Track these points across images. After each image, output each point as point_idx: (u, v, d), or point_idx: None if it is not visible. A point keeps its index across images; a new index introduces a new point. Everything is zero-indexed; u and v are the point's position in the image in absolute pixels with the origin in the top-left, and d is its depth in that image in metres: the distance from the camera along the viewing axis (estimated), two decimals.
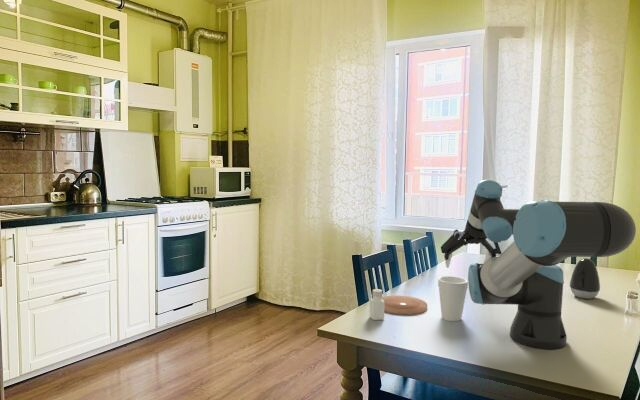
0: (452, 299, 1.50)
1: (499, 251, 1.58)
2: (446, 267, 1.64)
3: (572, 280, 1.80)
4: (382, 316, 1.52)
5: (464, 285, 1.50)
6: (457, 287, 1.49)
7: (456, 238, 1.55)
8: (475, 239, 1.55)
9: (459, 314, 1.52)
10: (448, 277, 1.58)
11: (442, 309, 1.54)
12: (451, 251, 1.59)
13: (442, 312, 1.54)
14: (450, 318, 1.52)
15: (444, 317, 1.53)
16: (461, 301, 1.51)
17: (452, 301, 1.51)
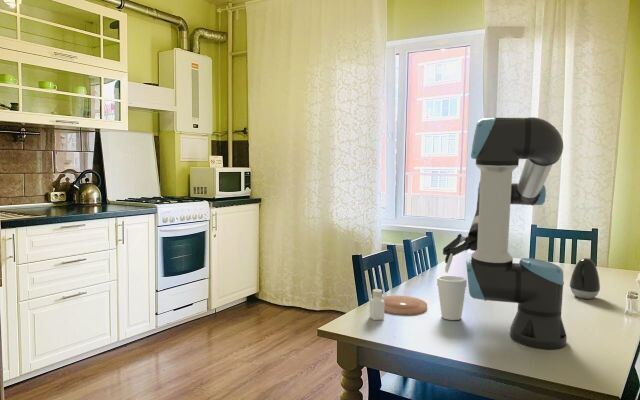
0: (451, 297, 1.51)
1: None
2: (445, 267, 1.58)
3: (572, 280, 1.80)
4: (382, 316, 1.52)
5: (463, 283, 1.51)
6: (456, 285, 1.50)
7: (458, 237, 1.67)
8: (476, 242, 1.64)
9: (459, 313, 1.52)
10: (447, 277, 1.59)
11: (442, 308, 1.54)
12: (452, 250, 1.63)
13: (442, 311, 1.54)
14: (450, 317, 1.52)
15: (444, 316, 1.53)
16: (460, 299, 1.52)
17: (451, 299, 1.51)
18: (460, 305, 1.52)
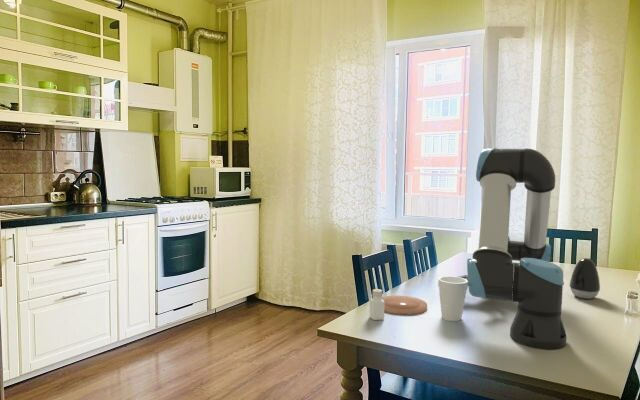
0: (452, 299, 1.50)
1: None
2: None
3: (572, 280, 1.80)
4: (382, 316, 1.52)
5: (464, 285, 1.50)
6: (457, 287, 1.49)
7: (464, 276, 1.76)
8: None
9: (459, 314, 1.52)
10: (448, 277, 1.58)
11: (442, 309, 1.54)
12: None
13: (442, 312, 1.54)
14: (450, 318, 1.52)
15: (444, 317, 1.53)
16: (461, 301, 1.51)
17: (452, 301, 1.51)
18: (460, 307, 1.52)
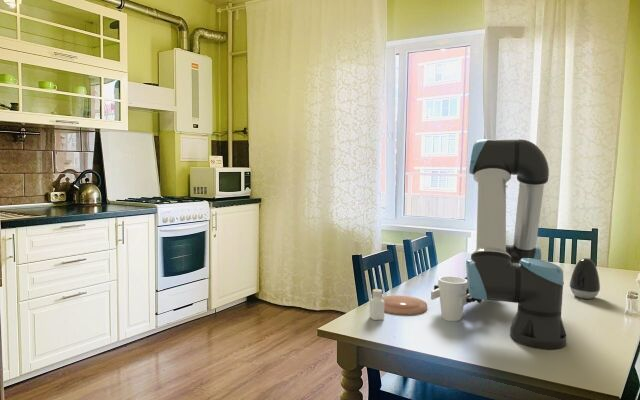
0: (452, 299, 1.51)
1: None
2: (431, 291, 1.55)
3: (572, 280, 1.80)
4: (382, 316, 1.52)
5: (464, 285, 1.50)
6: (457, 287, 1.49)
7: None
8: None
9: (459, 314, 1.52)
10: (448, 277, 1.58)
11: (442, 309, 1.54)
12: None
13: (442, 312, 1.54)
14: (450, 318, 1.52)
15: (444, 317, 1.53)
16: None
17: (452, 301, 1.51)
18: (460, 307, 1.52)
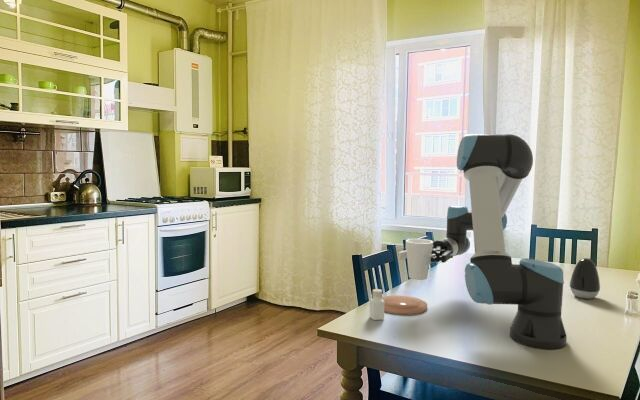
0: (417, 259, 1.59)
1: (444, 254, 1.61)
2: None
3: (572, 280, 1.80)
4: (382, 316, 1.52)
5: (429, 245, 1.59)
6: (422, 247, 1.58)
7: None
8: (434, 248, 1.71)
9: (424, 273, 1.61)
10: (416, 239, 1.66)
11: (409, 269, 1.63)
12: None
13: (409, 272, 1.63)
14: (416, 277, 1.61)
15: (411, 276, 1.62)
16: None
17: (417, 260, 1.59)
18: (426, 266, 1.60)
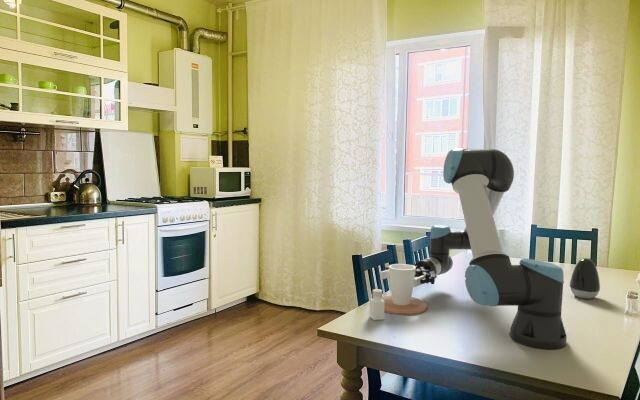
0: (400, 284, 1.62)
1: (433, 276, 1.63)
2: (380, 272, 1.68)
3: (572, 280, 1.80)
4: (382, 316, 1.52)
5: (411, 271, 1.62)
6: (404, 273, 1.61)
7: None
8: (417, 269, 1.74)
9: (407, 299, 1.63)
10: (399, 265, 1.69)
11: (392, 294, 1.65)
12: None
13: (392, 297, 1.66)
14: (399, 302, 1.63)
15: (394, 302, 1.65)
16: (409, 286, 1.62)
17: (400, 286, 1.62)
18: (409, 292, 1.63)
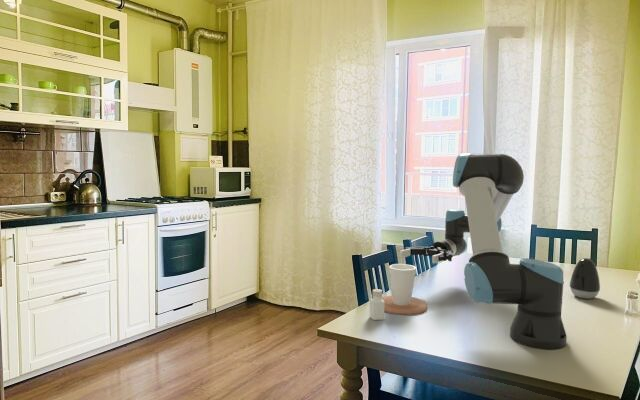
0: (400, 285, 1.62)
1: (450, 254, 1.73)
2: None
3: (572, 280, 1.80)
4: (382, 316, 1.52)
5: (412, 272, 1.61)
6: (405, 273, 1.61)
7: (420, 246, 1.88)
8: (434, 249, 1.83)
9: (408, 299, 1.63)
10: (400, 265, 1.69)
11: (392, 294, 1.65)
12: (411, 248, 1.83)
13: (392, 297, 1.65)
14: (399, 302, 1.63)
15: (394, 302, 1.65)
16: (409, 287, 1.62)
17: (400, 287, 1.62)
18: (409, 292, 1.63)
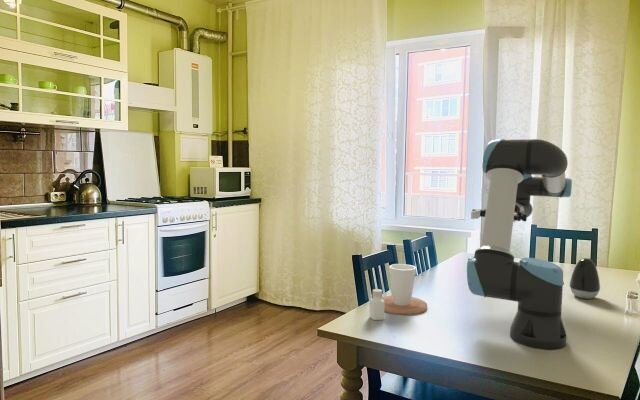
0: (400, 285, 1.62)
1: (525, 214, 1.68)
2: None
3: (572, 280, 1.80)
4: (382, 316, 1.52)
5: (412, 272, 1.61)
6: (405, 273, 1.61)
7: None
8: None
9: (408, 299, 1.63)
10: (400, 265, 1.69)
11: (392, 294, 1.65)
12: (480, 210, 1.79)
13: (392, 297, 1.65)
14: (399, 302, 1.63)
15: (394, 302, 1.65)
16: (409, 287, 1.62)
17: (400, 286, 1.62)
18: (409, 292, 1.63)
